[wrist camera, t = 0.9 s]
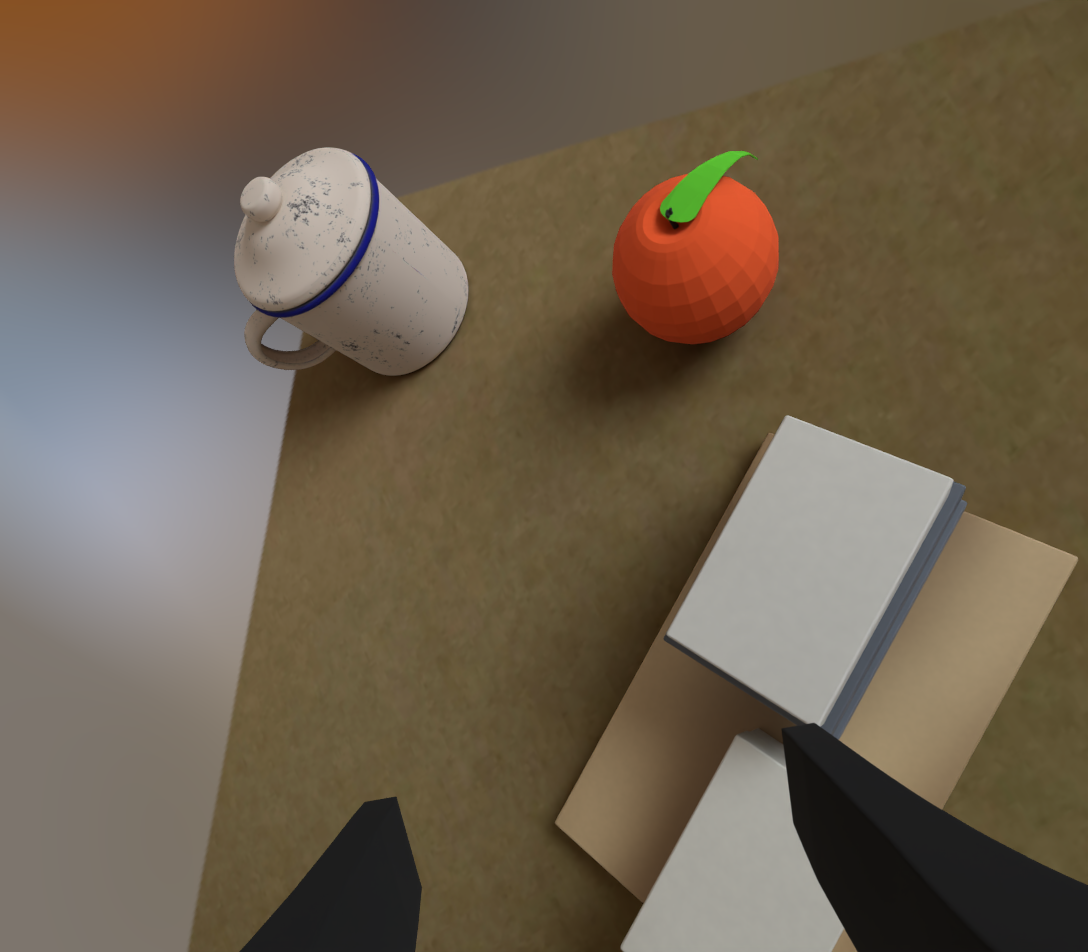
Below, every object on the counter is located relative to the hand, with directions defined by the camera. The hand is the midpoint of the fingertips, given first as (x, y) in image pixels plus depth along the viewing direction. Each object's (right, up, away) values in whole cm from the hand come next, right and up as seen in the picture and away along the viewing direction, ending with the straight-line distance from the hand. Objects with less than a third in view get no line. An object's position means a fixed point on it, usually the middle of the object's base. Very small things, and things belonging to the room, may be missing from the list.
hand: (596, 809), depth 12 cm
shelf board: (+8, -3, +13) cm, 16 cm away
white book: (+8, +3, +9) cm, 12 cm away
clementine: (+7, +15, +19) cm, 25 cm away
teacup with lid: (-10, +15, +28) cm, 34 cm away
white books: (+7, -8, +11) cm, 15 cm away
